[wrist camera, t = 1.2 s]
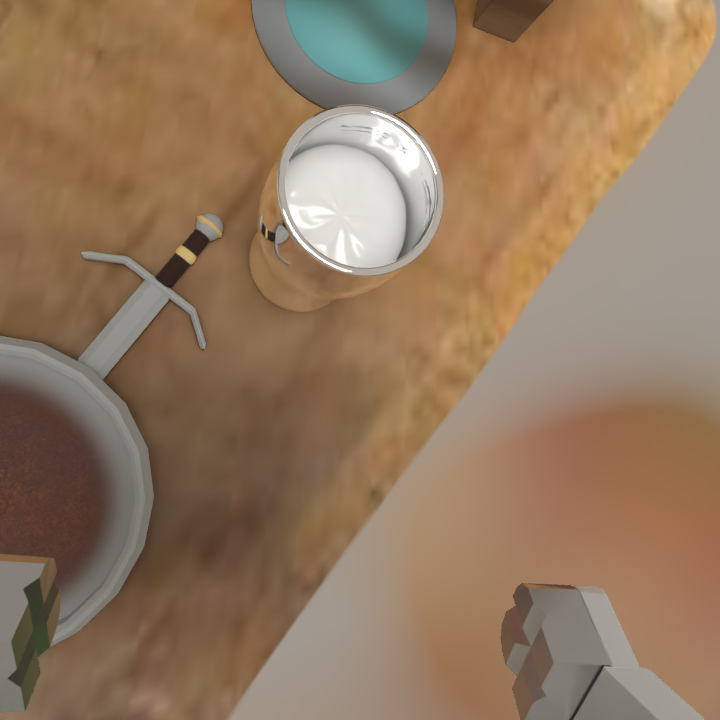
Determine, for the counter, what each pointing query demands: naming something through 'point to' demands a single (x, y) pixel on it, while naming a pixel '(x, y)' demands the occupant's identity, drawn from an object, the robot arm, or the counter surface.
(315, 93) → the shelf bridge
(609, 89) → the counter surface
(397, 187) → the beer glass
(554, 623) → the robot arm
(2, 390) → the frying pan
